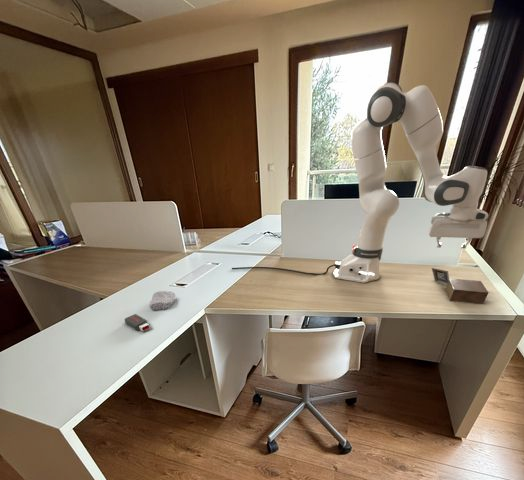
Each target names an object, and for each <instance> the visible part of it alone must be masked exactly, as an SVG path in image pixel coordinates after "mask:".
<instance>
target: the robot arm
mask: <svg viewBox="0 0 524 480" xmlns="http://www.w3.org/2000/svg"><path fill="white" fill-rule="evenodd" d="M365 113H366V114H365V115H366V116H365V117H364V118H363V119H361V120H360V121H358V122H357V123H355V125H354V127H353V128H352V131H351V149H352V156H353V160H354V166H355V170H356V173H357V179H358V192H359V193H358V194H359V197H358V198H359V199H358V203H359V205H360V207H361V209H362V210H363V211H364V212H365V213H366V216H365V219H364V223H363V224H362V227H360V230H359V236H358V242H357V244H353V245H352V252H351V254H349V255H348V256H347V257H345V258H343V259H342V260H341V261H335V263H333V264H331V265H329V266H328V267H327V268H326V271H324V272H323V273H318V272H317V273H316V272H307V271H301V270H295V269H289V268H282V267H272V266H242V267H231V270H241V269H242V270H244V269H247V270H248V269H270V270H271V269H272V270H280V271H287V272H292V273H300V274H302V275H303V274H304V275H311V276H313V275H314V276H321V275H326V274H327V273H328V272H329V269H330V268H333V267H334V271H333V277H334V278H335V279H339V280H345V281H351V282H356V283H357V282H358V283H363V284H365V283H369V282H372V281H376V280H378V279H379V278H380V277H381V275H380V262H381V259H382V256H383V252H384V251H383V245H384V241H385V240H384V239H385V236H386V232H387V228H388V226H389V223H390V221H391V220H392V217H393V216H394V215H395V214H396V212H397V211H398V209H399V208H400V207H399V206H400V200H399V197H398V195H397V194H396V193H395V192H394V191H393V190H391V189H388V188H387V187H386V183H385V180H386V171H387V162H386V155H385V150H384V144H383V138H382V132H383V131H382V130H383V128H384V127H386V126H389V125H393V124H394V123H397V122H400V124H401V126H402V128H403V131H404V135H405V137H406V139H407V142H408V144H409V146H410V149H411V150H412V151H413V153H414V155H415V157H416V159H417V163H418V166H419V170H420V173H421V176H422V180H423V184H422V185H423V187H422V195H423V198H424V199H425V201H427V202H429V203H433V204H435V205H437V206H440V207H446V206H451V207H450V210H449V212H437V213H436V214H434V215H432V218H431V220H430V227H429V229H428V232H427V233H428V236H429V237H430V238H435V240H436V248H437V249H439V248H440V249H441V248H442V246H443V245H442V244H443V243H442V242H440V240H441V239H442V238H453V239H454V238H457V239H460V238H461V239H466V241H465V242H462V243H461V246H460V248H461V249H467V246H468V245H469V244H470V243H471V242H472V241H473V239H482V238H483V237H484V236H485V234H486V231H487V228H488V221H487V219H488V218H489V213H488V212H487V211H485V210H483V209H480V208H478V206H479V200H480V197H481V196H482V194H483V192H484V189H485V186H486V182H487V179H488V178H487V177H488V170H487V169H486V167H482V166H476V165H468V166H467V165H466V166H465V167H464V168H463V169H462V170H460V171H458V172H456V173H454V174H452V175H449V176H447V175H445V174H444V173H443V171H442V170H441V166H440V162H439V159H438V155H437V147H438V144H439V142H441V139H442V137H443V134H444V126H443V119H442V115H441V112H440V110H439V106H438V104H437V101H436V98H435V97H434V95H433V93H432V91H431V90H430V88H429V86H428V85H425V84H420V85H416V86H415V87H413V88H411V89H410V90H408V91H406V92H404V91H403V89H402V87H401V85H400V84H398V83H397V82H394V81H389V82H386V83H383V84H381V85H380V86H379V87H377V88H376V89H375V90H374V92H373V93H372V95H371V96H370V98H369V99H368V102H367V105H366V111H365Z"/></svg>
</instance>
